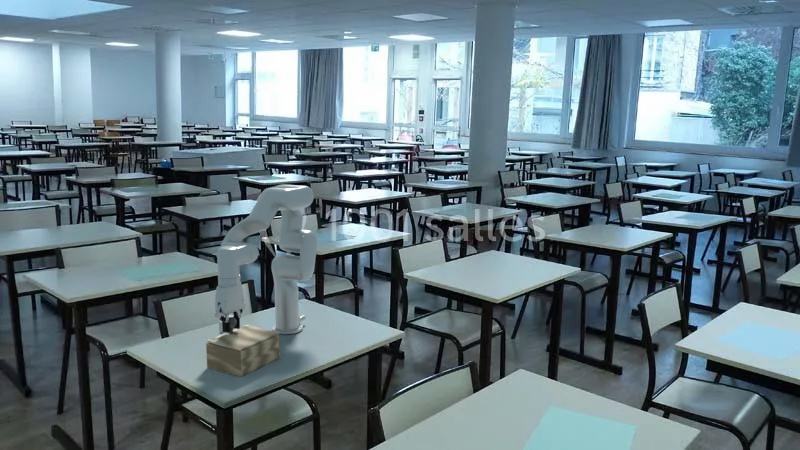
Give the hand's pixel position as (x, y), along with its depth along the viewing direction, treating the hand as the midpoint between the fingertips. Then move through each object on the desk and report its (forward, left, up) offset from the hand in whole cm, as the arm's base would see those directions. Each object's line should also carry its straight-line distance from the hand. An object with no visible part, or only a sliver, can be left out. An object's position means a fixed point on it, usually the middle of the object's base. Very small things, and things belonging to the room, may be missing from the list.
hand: (231, 329), depth 226 cm
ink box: (-8, -9, -12) cm, 17 cm away
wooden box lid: (0, +6, -2) cm, 6 cm away
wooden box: (0, +6, -11) cm, 13 cm away
